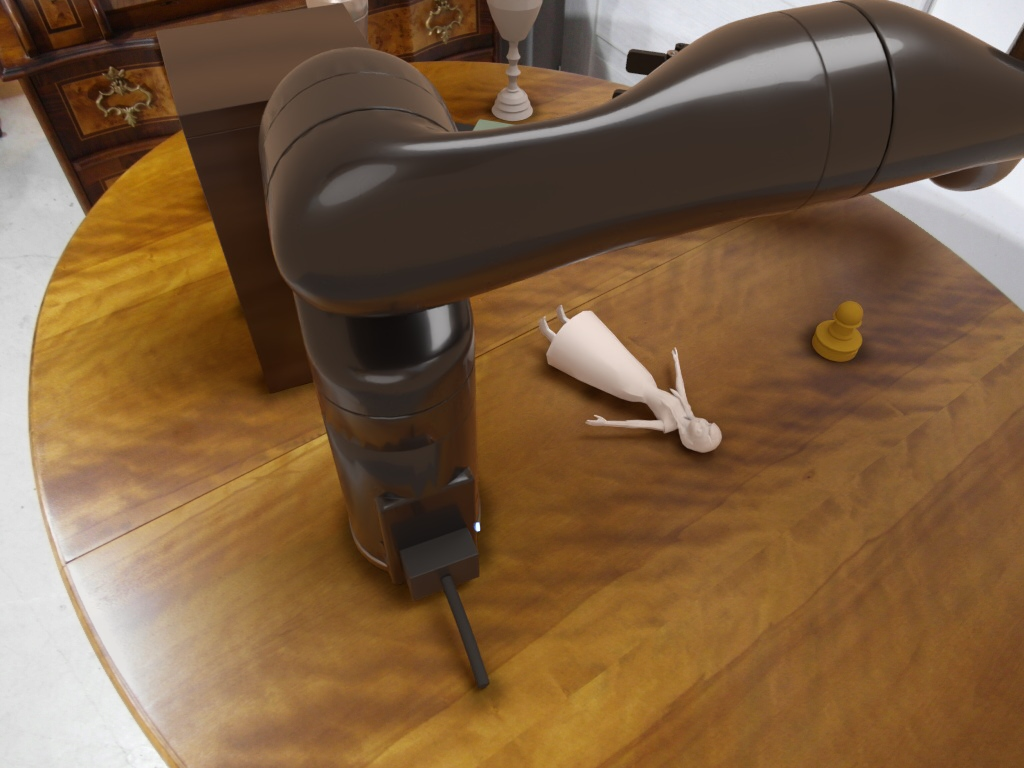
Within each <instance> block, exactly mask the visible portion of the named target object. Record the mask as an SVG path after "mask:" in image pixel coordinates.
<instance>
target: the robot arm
mask: <svg viewBox="0 0 1024 768" xmlns="http://www.w3.org/2000/svg"><path fill="white" fill-rule="evenodd" d="M625 71H626V72H627V73H628V74H634V75H640V76H645V77H644V78H642V79H641V80H640V81H638V82H637V83H635V84H634V85H632V86H631V87H630V88H628V89H622V88H616V89H615V90H614V91H613V93H612V96H611V99H609V100H608V101H605V102H603V103H600V104H598V105H595V106H593V107H590V108H587V109H585V110H581V111H578V112H574V113H571V114H566V115H561V116H559V117H554V118H548V119H543V120H537V121H531V122H526V123H519V124H513V125H514V126H508V127H502V128H494V129H486V130H476V131H461V132H458V130H457V128H456V125H455V123H456V122H455V121H454V118H453V116H452V114H451V112H450V110H449V107H448V105H447V104H446V102H445V100H444V98H443V97H442V94H441V93H440V92H439V91H438V89H437V88H436V87H435V85H434V84H433V83H432V82H431V80H429V78H427V76H425V75H424V74H423V72H421V71H420V70H419V69H417V68H416V67H415V66H413V64H411V63H409V62H407V61H406V60H404V59H402V58H400V57H398V56H396V55H394V54H391V53H388V52H385V51H382V50H378V49H375V48H372V49H369V48H359V47H350V48H340V49H333V50H329V51H326V52H323V53H320V54H318V55H315V56H313V57H311V58H309V59H307V60H306V61H304V62H302V63H301V64H300V65H298V66H297V67H295V68H294V69H293V70H292V71H291V72H290V73H289V74H288V75H287V76H286V77H285V78H284V79H283V80H282V81H281V82H280V83H279V85H278V86H277V87H276V89H275V90H274V92H273V94H272V95H271V97H270V99H269V101H268V103H267V105H266V107H265V110H264V113H263V116H262V120H261V124H260V130H259V158H260V165H261V171H262V181H263V189H264V197H265V205H266V213H267V221H268V227H269V234H270V241H271V246H272V251H273V255H274V258H275V261H276V264H277V267H278V269H279V272H280V274H281V276H282V277H283V279H284V281H285V282H286V284H287V285H288V286H289V287H290V288H291V289H292V291H293V296H294V301H295V305H296V310H297V315H298V320H299V325H300V330H301V335H302V340H303V344H304V349H305V352H306V356H307V359H308V363H309V367H310V371H311V374H312V378H313V385H314V389H315V394H316V397H317V400H318V404H319V409H320V412H321V413H320V414H321V417H322V420H323V424H324V425H323V426H324V428H325V432H326V435H327V439H328V444H329V447H330V451H331V455H332V458H333V463H334V466H335V470H336V475H337V477H338V481H339V485H340V489H341V493H342V496H343V500H344V504H345V508H346V511H347V515H348V521H349V522H348V523H349V528H350V533H351V536H352V539H353V542H354V544H355V546H356V548H357V550H358V551H359V553H360V554H361V555H362V556H363V558H365V559H366V561H367V562H369V563H370V564H371V565H373V566H374V567H376V568H378V569H380V570H382V571H384V572H387V573H388V574H389V576H390V579H391V582H392V584H393V585H395V586H399V585H401V584H404V583H406V585H407V587H408V590H409V593H410V596H411V599H412V601H413V602H416V601H418V600H421V599H423V598H426V597H429V596H432V595H434V594H437V593H440V592H442V591H443V592H444V594H445V597H446V601H447V603H448V605H449V608H450V612H451V613H452V617H453V619H454V621H455V624H456V627H457V630H458V633H459V635H460V638H461V642H462V644H463V647H464V650H465V653H466V656H467V658H468V662H469V664H470V668H471V671H472V673H473V677H474V680H475V684H476V686H477V688H478V689H480V690H481V689H482V690H483V689H485V688H487V687H488V686H489V685H490V684H491V683H490V679H489V676H488V673H487V670H486V667H485V664H484V661H483V657H482V655H481V652H480V649H479V646H478V643H477V640H476V637H475V635H474V632H473V629H472V627H471V623H470V621H469V618H468V615H467V613H466V610H465V607H464V605H463V601H462V599H461V597H460V595H459V591H458V589H457V587H456V586H459V585H462V584H464V583H467V582H470V581H472V580H475V579H477V578H480V553H479V551H478V535H479V532H480V531H481V522H482V509H481V508H482V504H481V498H480V483H479V482H480V481H479V456H478V455H479V453H478V452H479V451H478V418H477V416H478V415H477V375H476V373H477V371H476V330H475V329H476V328H475V327H476V326H475V318H474V313H473V307H472V302H471V298H473V297H477V296H480V295H483V294H487V293H489V292H492V291H495V290H497V289H498V290H499V289H500V288H503V287H507V286H510V285H514V284H516V283H519V282H522V281H525V280H527V279H528V280H529V279H531V278H535V277H538V276H540V275H543V274H546V273H549V272H552V271H554V270H555V271H556V270H558V269H561V268H564V267H567V266H571V265H574V264H576V263H579V262H582V261H586V260H589V259H592V258H596V257H600V256H603V255H605V254H609V253H614V252H618V251H622V250H625V249H629V248H634V247H638V246H641V245H645V244H650V243H653V242H659V241H662V240H666V239H670V238H675V237H677V236H682V235H686V234H690V233H694V232H697V231H701V230H705V229H706V230H707V229H710V228H714V227H718V226H723V225H727V224H731V223H735V222H741V221H746V220H752V219H758V218H763V217H769V216H775V215H782V214H786V213H791V212H795V211H801V210H805V209H811V208H814V207H818V206H823V205H827V204H831V203H837V202H842V201H848V200H850V199H854V198H859V197H862V196H866V195H867V196H868V195H870V194H874V193H877V192H882V191H886V190H890V189H894V188H897V187H901V186H904V185H908V184H913V183H917V182H921V181H924V180H929V181H930V182H931V183H932V184H934V185H935V186H937V187H939V188H941V189H944V190H947V191H952V192H973V191H977V190H982V189H986V188H989V187H991V186H993V185H995V184H998V183H999V182H1001V181H1003V180H1004V179H1005V178H1007V176H1009V175H1010V174H1011V173H1012V172H1013V171H1014V170H1015V168H1016V167H1017V166H1018V165H1019V164H1020V162H1021V161H1022V159H1024V22H1023V23H1022V24H1021V26H1020V28H1019V30H1018V31H1017V33H1016V35H1015V37H1014V38H1013V39H1012V41H1011V43H1010V45H1009V46H1008V48H1007V49H1006V51H1005V52H1004V51H1003V50H1001V49H999V48H997V47H995V46H993V45H992V44H990V43H987V42H986V41H984V40H982V39H980V38H979V37H977V36H975V35H973V34H971V33H969V32H967V31H965V30H963V29H961V28H959V27H958V26H956V25H954V24H952V23H949V22H948V21H945V20H943V19H941V18H938V17H937V16H935V15H932V14H930V13H928V12H925V11H923V10H920V9H917V8H914V7H913V6H908V5H906V4H903V3H901V2H897V1H893V0H833V1H825V2H822V3H821V2H820V3H815V4H809V5H804V6H798V7H792V8H787V9H781V10H780V9H779V10H775V11H770V12H765V13H761V14H756V15H752V16H748V17H745V18H741V19H737V20H734V21H731V22H728V23H726V24H724V25H723V24H722V25H721V26H719V27H716V28H715V29H713V30H711V31H709V32H707V33H705V34H704V35H702V36H700V37H699V38H696V39H695V40H694V41H693V42H691V43H685V42H677V43H675V46H674V49H669V50H667V51H666V52H659V51H653V50H644V49H637V48H631V49H629V50H628V52H627V55H626V62H625ZM454 122H455V123H454Z"/></svg>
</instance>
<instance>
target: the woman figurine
mask: <svg viewBox="0 0 1024 768" xmlns="http://www.w3.org/2000/svg"><path fill="white" fill-rule="evenodd" d="M555 312H556V315H555V317H556V318H557V320H558V321H559V322H560V323H561V324H563V325H562V327H560V329H559V330H558V331H557V333H556V332H554V331H553V330H552V329H550V327H549V324H548V322H547V320H546V318H547V316H543V317H542V318H540V319H539V320H538V331H539V332H540V333H541V334H542V335H543V336H544V337H545V338H546V339H547V340H548V341H549V343H550V345H549V347H548V350H547V351H546V354H545V356H546V361H547V364H548V365H549V366H551V367H553V368H555V369H557V370H559V371H561V372H562V373H564V374H567V375H568V376H571V377H572V378H575V379H576V380H578V381H580V382H582V383H585V384H587V385H589V386H591V387H594V388H596V389H598V390H601V391H603V392H605V393H607V394H610V395H612V396H614V397H616V398H619V399H621V400H624V401H628V402H632V403H635V402H636V403H638V402H639V403H643V404H646V405H647V406H648V408H649V409H650V411H651V412H652V413H653V415H654V417H655V418H656V420H655V419H653V420H649V419H647V420H645V419H627V420H626V419H625V420H606V419H605V418H604V417H602V416H600V415H597V414H594V415H593V417H595V418H597V419H596V420H591V419H586V421H585V424H586V425H588V426H593V427H616V428H617V427H618V428H626V429H648V430H656V431H660V432H662V433H663V434H667V433H670V432H675V431H677V430H678V435H679V438H680V441H681V443H682V445H683V446H684V447H685V448H686V449H688V450H691V451H695V452H697V453H701V454H703V453H708V452H712V451H715V450H716V449H717V448H718V447H719V445H720V444H721V442H722V439H723V434H722V431H721V429H720V427H719V426H718V425H717V424H716V423H715V422H712V423H711V422H708V420H707V419H705V418H702V417H696V416H695V415H694V412H693V411H692V406H691V405H690V404H689V401H688V398H687V394H686V389H685V385H684V384H685V383H684V380H683V375H682V371H681V366H680V360H679V354H678V351H677V347H673V349H672V350H671V353H670V354H671V355H672V357H673V358H672V359H673V364H674V371H675V389H673V388H669V390H670V392H671V393H670V392H669V391H666V390H663V389H661V388H658V386H657V383H656V381H655V379H654V377H653V375H652V374H651V372H650V371H649V370H648V369H647V367H645V366H644V365H643V364H642V363H641V362H640V361H639V359H637V358H636V357H635V356H634V355H633V354H632V353H631V352H630V351H629V350H628V349H627V348H626V347H625V345H624V344H623V343H622V342H621V341H620V340H619V339H618V338H617V336H616V335H615V334H614V333H613V332H612V331H611V330H610V328H608V326H607V325H606V324H605V323H604V322H603V321H602V320H601V319H600V318H599V317H598V315H596V313H594V312H593V310H582V311H581V312H579V313H577V314H576V315H573V316H572V318H568V317H567V315H566V314H565V310H564V308H563V304H560V305H558V306H557V307H556V310H555Z"/></svg>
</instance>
